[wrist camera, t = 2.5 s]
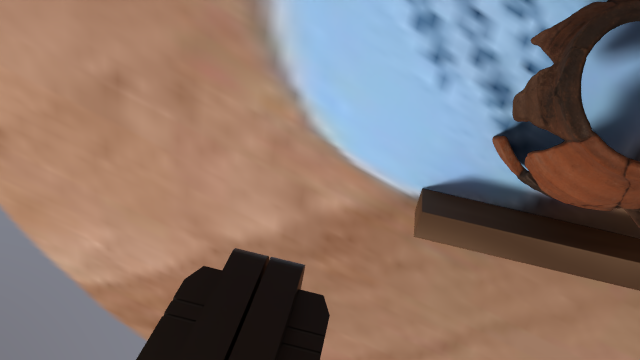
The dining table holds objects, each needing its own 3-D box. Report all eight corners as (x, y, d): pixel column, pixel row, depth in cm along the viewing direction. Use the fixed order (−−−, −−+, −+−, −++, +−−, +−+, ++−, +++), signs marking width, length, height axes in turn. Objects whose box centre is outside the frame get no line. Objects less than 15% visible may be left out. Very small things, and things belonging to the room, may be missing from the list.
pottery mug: (439, 108, 29) (489, 78, 21) (577, -7, 30) (680, -81, 21) (586, 285, 29) (693, 324, 21) (723, 170, 30) (883, 164, 21)
